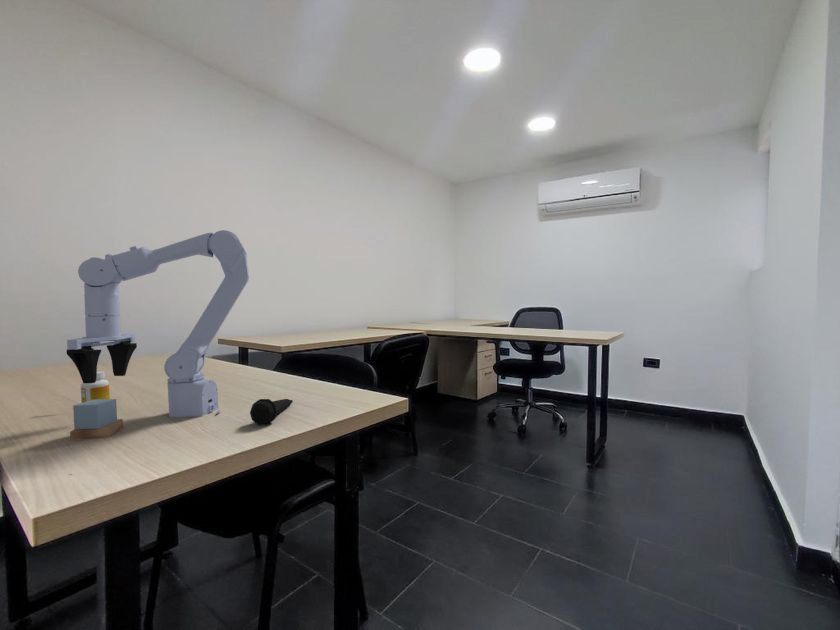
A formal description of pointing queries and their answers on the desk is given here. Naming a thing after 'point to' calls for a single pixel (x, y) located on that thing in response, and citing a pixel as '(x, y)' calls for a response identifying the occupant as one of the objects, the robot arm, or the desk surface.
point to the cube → (95, 414)
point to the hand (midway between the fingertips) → (105, 379)
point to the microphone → (268, 410)
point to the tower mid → (96, 431)
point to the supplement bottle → (95, 389)
